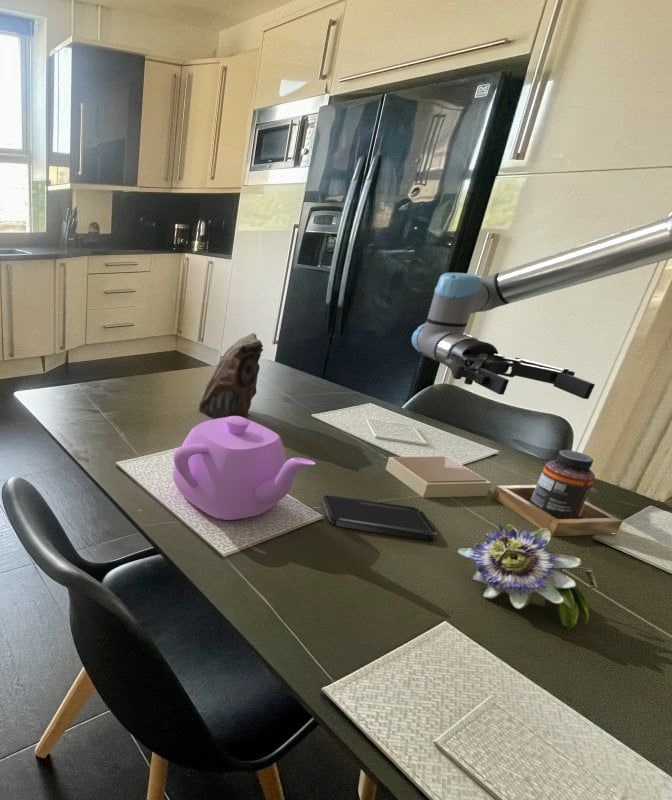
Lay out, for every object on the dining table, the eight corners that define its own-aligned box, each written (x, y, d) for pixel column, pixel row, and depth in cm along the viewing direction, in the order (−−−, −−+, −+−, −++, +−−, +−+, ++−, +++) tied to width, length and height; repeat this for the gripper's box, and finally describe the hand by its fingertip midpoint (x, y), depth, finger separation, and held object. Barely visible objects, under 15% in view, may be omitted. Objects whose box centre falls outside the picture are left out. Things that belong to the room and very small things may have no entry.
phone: (439, 536, 74) (332, 519, 77) (437, 542, 74) (330, 525, 78) (420, 507, 81) (322, 493, 84) (418, 513, 81) (321, 498, 85)
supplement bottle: (565, 510, 83) (592, 451, 79) (581, 529, 78) (611, 467, 74) (521, 501, 85) (545, 444, 81) (534, 519, 80) (561, 459, 76)
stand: (442, 468, 96) (447, 454, 95) (486, 496, 87) (491, 481, 86) (385, 469, 95) (389, 456, 94) (423, 497, 86) (427, 483, 85)
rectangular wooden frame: (548, 496, 87) (553, 484, 86) (616, 534, 77) (623, 521, 76) (491, 497, 86) (496, 485, 85) (552, 536, 76) (558, 523, 75)
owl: (240, 405, 125) (252, 330, 118) (270, 425, 114) (285, 343, 107) (196, 409, 123) (205, 332, 115) (221, 430, 111) (233, 345, 104)
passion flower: (477, 629, 66) (436, 544, 67) (524, 593, 69) (484, 513, 71) (581, 650, 55) (530, 549, 56) (630, 606, 59) (581, 512, 60)
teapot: (140, 491, 86) (146, 414, 81) (227, 465, 96) (238, 394, 90) (234, 571, 68) (251, 477, 62) (332, 529, 77) (354, 444, 71)
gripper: (523, 374, 104) (616, 413, 84) (400, 368, 106) (462, 405, 86) (536, 340, 101) (635, 372, 81) (410, 335, 103) (476, 365, 83)
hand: (546, 389), depth 84 cm, fingers open, 13 cm apart
